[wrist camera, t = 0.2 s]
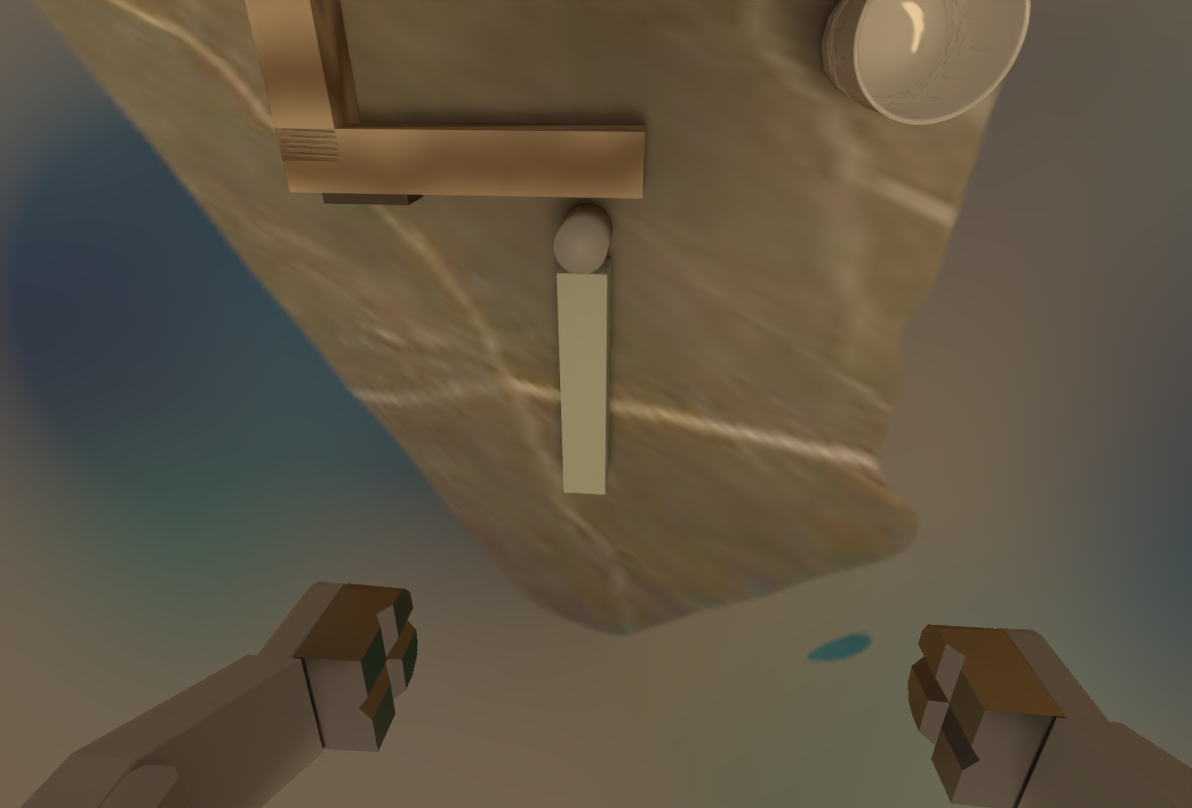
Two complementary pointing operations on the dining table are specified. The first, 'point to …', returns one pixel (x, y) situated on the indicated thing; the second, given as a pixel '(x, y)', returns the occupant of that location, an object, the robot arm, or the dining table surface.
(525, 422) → the dining table surface
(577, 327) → the folding leg
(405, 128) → the l-shaped wooden joint
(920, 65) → the white cup
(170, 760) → the robot arm
